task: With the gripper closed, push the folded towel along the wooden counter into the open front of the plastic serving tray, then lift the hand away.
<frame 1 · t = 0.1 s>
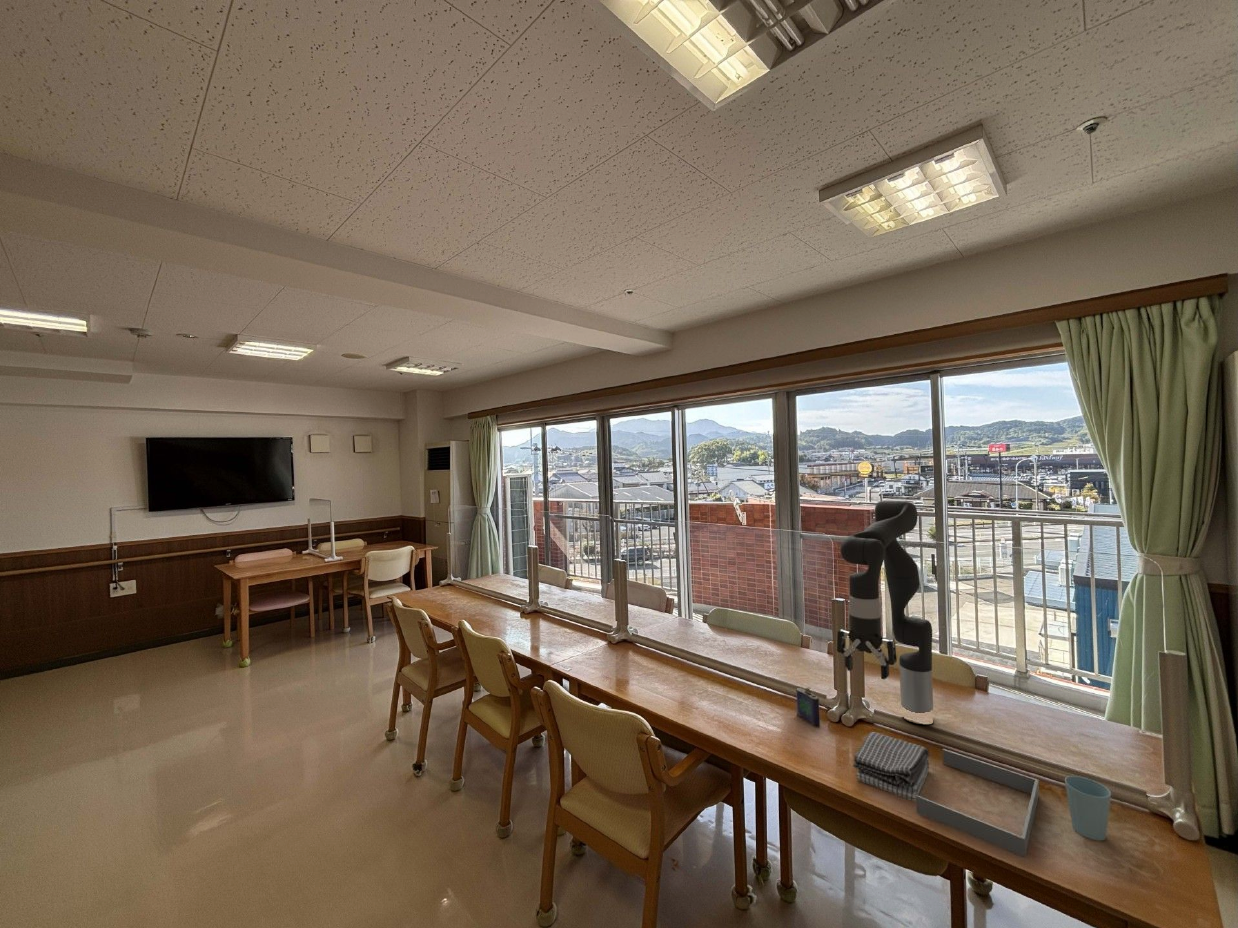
hand: (866, 673, 132), 29 cm above the table, fingers open, 8 cm apart
tray: (977, 803, 123), on the table
cup: (1088, 832, 113), on the table
flask: (808, 720, 165), on the table
towel: (891, 776, 136), on the table
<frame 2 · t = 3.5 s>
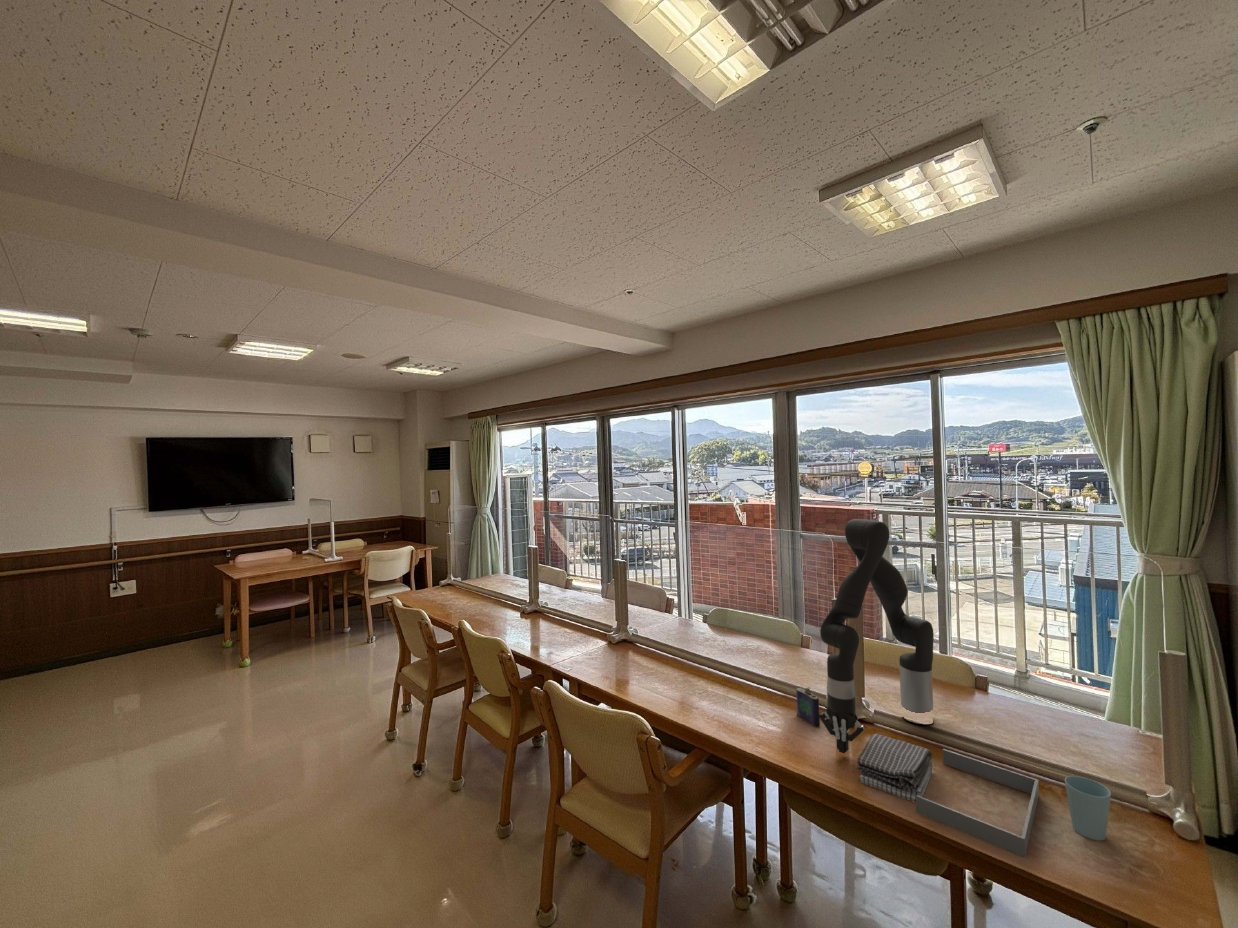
hand: (842, 751, 145), 1 cm above the table, fingers closed
towel: (895, 778, 135), on the table
everything else where it was.
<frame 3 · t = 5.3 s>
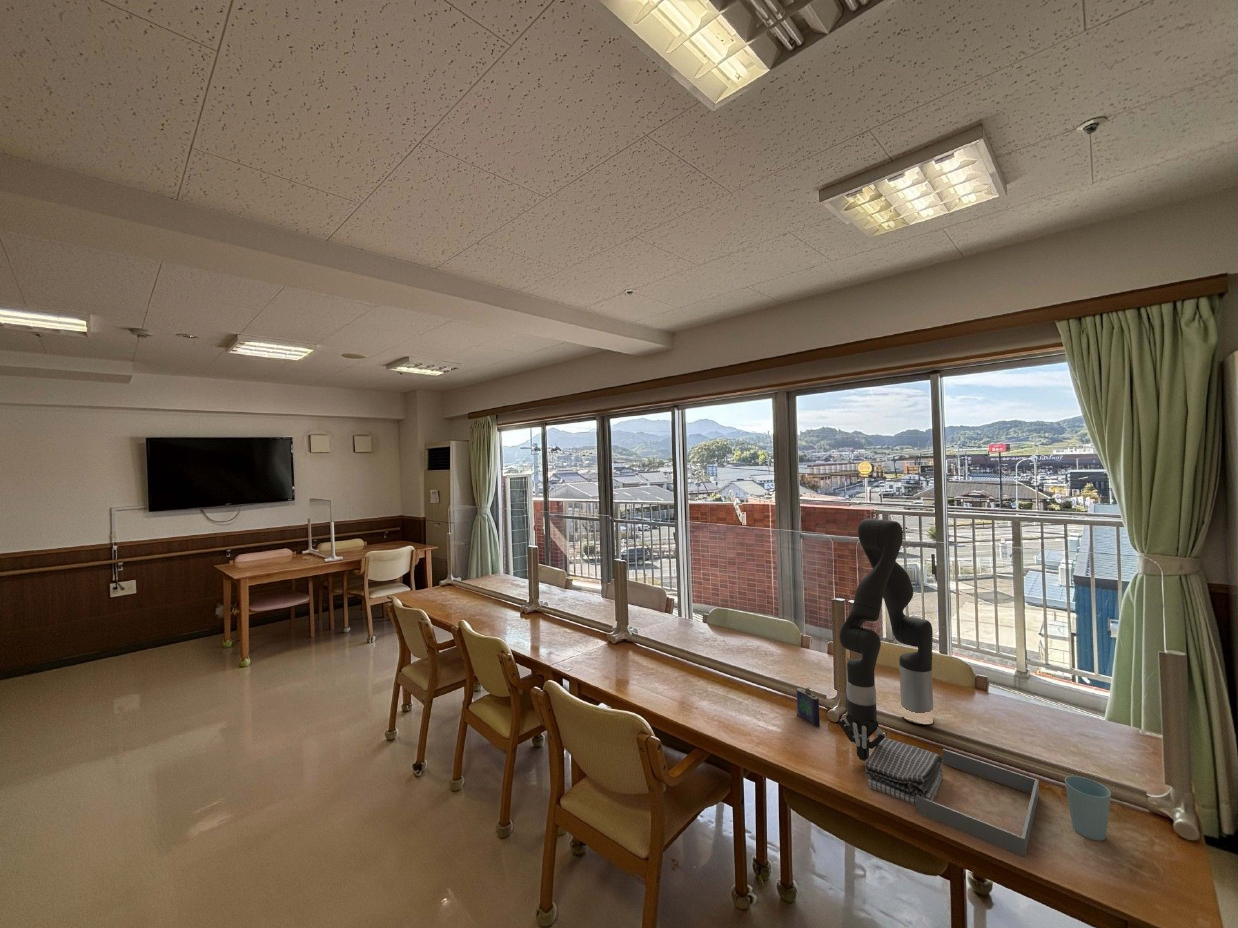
hand: (863, 758, 141), 1 cm above the table, fingers closed
towel: (904, 783, 133), on the table, touching hand
everything else where it was.
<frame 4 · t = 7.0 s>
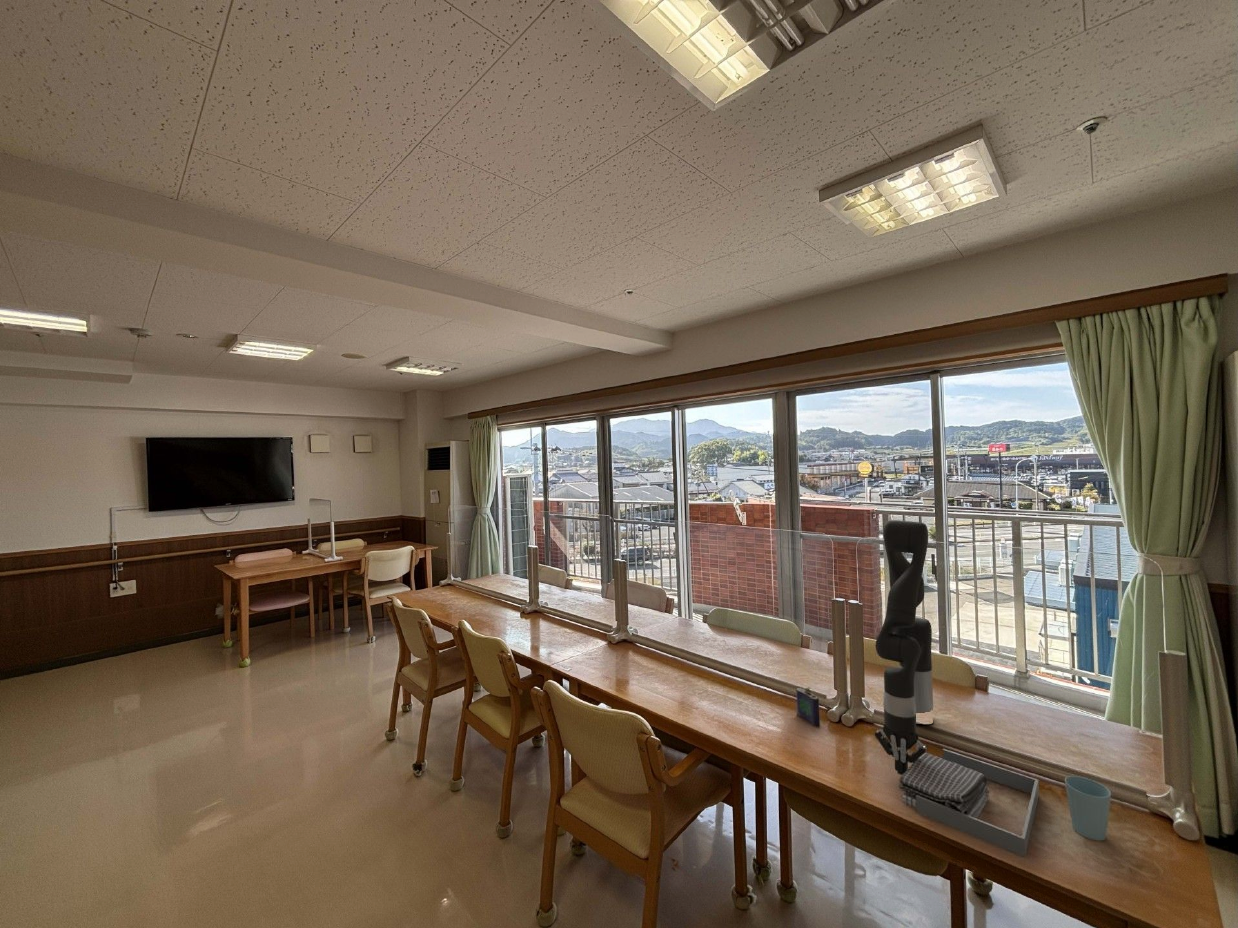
hand: (901, 773, 134), 1 cm above the table, fingers closed
towel: (944, 802, 125), on the table, touching hand
everything else where it was.
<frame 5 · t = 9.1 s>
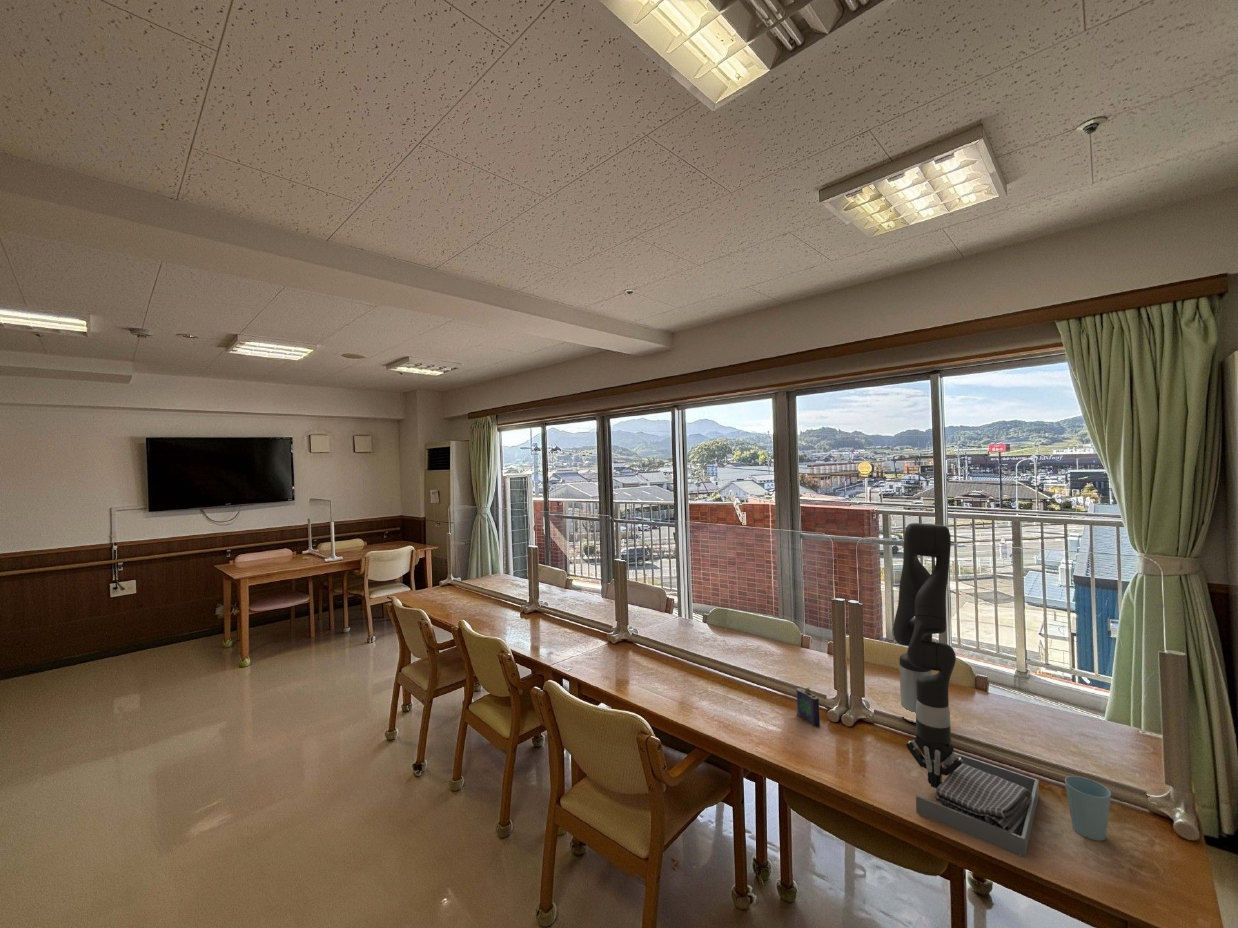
hand: (934, 786, 128), 1 cm above the table, fingers closed
towel: (983, 816, 120), on the table, touching tray
everything else where it was.
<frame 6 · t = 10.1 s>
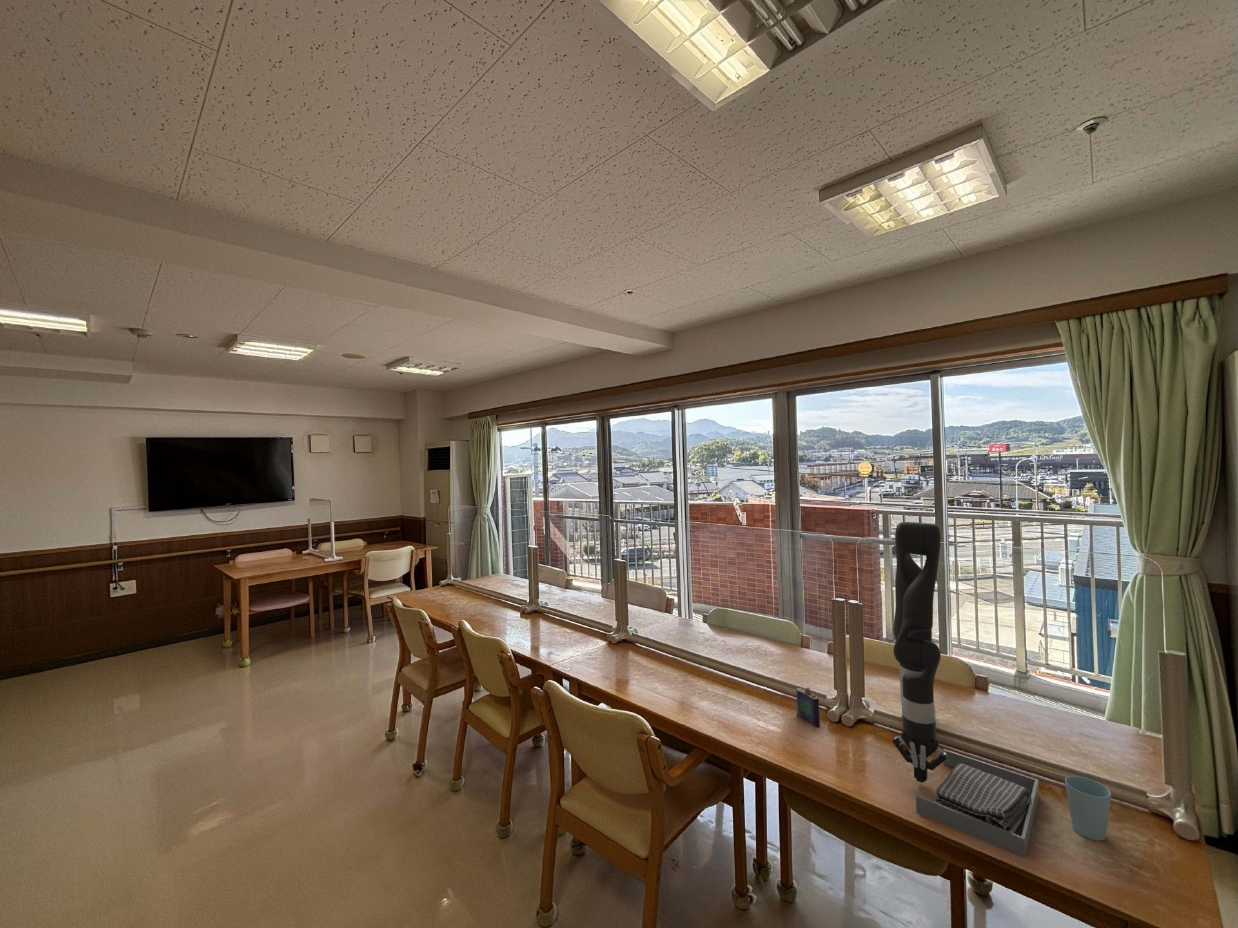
hand: (920, 780, 131), 1 cm above the table, fingers closed
towel: (983, 816, 120), on the table
everything else where it was.
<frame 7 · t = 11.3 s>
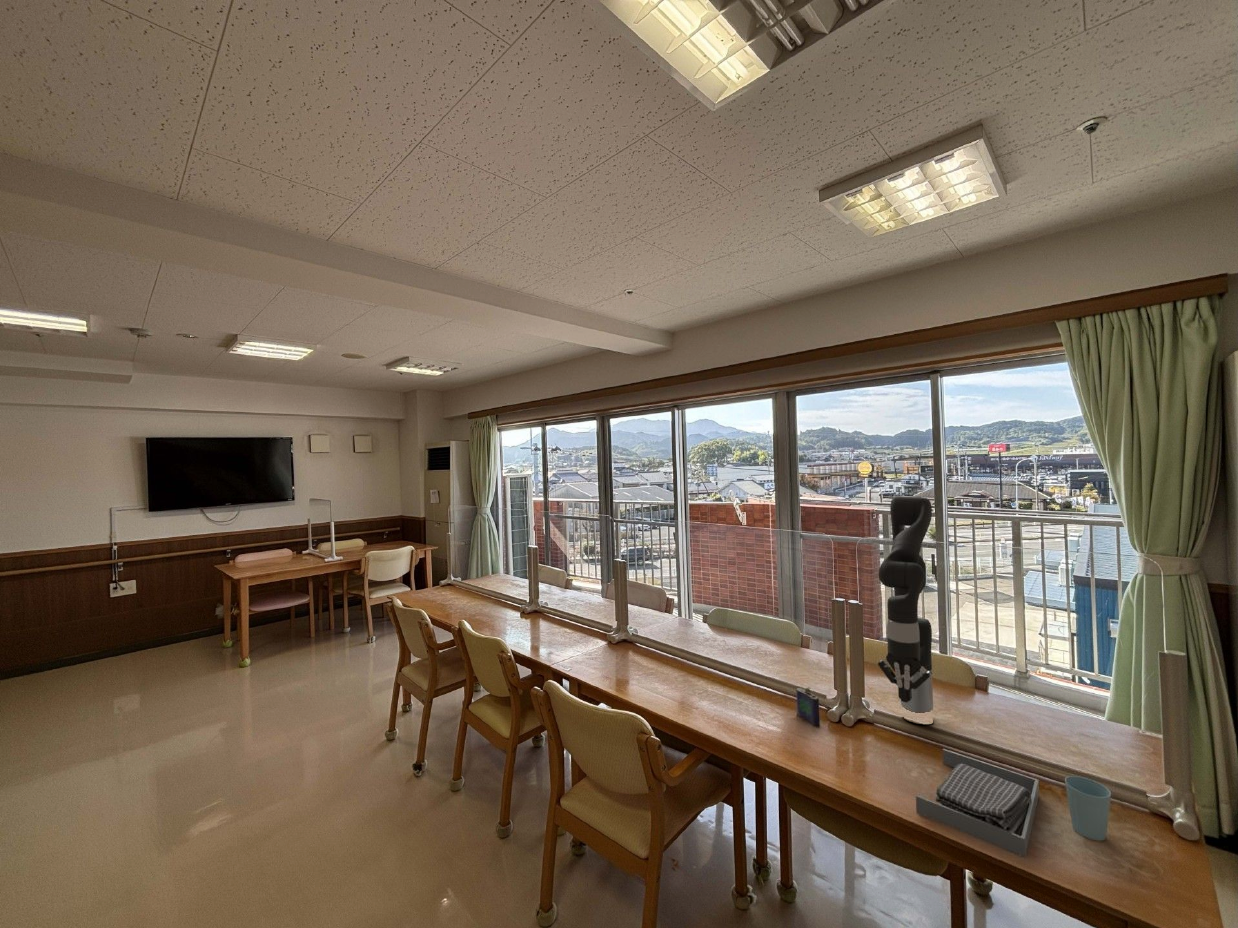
hand: (905, 700, 133), 21 cm above the table, fingers closed
nothing on the table moved.
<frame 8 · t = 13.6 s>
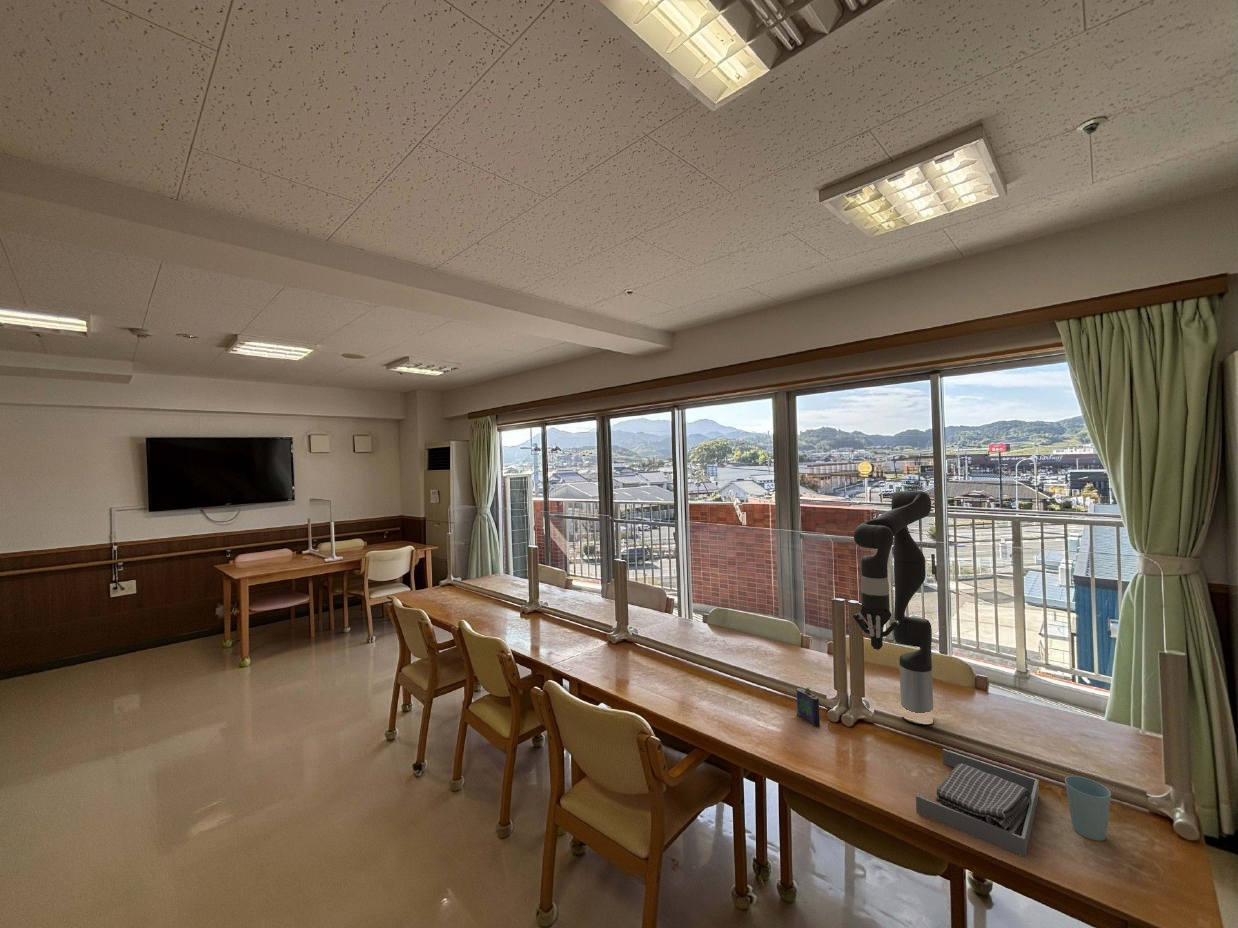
hand: (876, 648, 150), 29 cm above the table, fingers closed
nothing on the table moved.
at the end: towel inside the target area on the tray (4.4 cm from its centre), point -0.6 cm above the tray's base; towel moved 20.9 cm from its start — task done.
